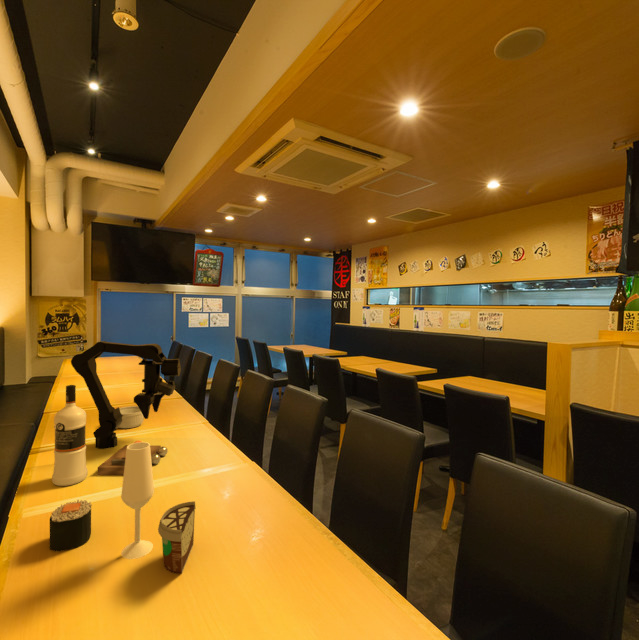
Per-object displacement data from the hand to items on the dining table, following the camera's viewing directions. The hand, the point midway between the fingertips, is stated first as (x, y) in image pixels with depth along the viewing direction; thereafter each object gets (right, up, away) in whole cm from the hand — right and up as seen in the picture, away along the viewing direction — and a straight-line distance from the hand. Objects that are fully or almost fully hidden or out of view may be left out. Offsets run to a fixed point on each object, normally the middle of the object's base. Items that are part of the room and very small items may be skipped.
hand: (151, 415), depth 146 cm
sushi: (+8, -14, -59) cm, 61 cm away
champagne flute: (+25, -15, -62) cm, 69 cm away
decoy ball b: (+9, -11, -17) cm, 22 cm away
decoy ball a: (+9, -11, -10) cm, 17 cm away
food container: (+34, -15, -65) cm, 75 cm away
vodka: (-12, -13, -30) cm, 35 cm away
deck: (+1, -12, -16) cm, 21 cm away
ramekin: (-21, -11, +23) cm, 33 cm away
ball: (0, -8, -12) cm, 14 cm away
